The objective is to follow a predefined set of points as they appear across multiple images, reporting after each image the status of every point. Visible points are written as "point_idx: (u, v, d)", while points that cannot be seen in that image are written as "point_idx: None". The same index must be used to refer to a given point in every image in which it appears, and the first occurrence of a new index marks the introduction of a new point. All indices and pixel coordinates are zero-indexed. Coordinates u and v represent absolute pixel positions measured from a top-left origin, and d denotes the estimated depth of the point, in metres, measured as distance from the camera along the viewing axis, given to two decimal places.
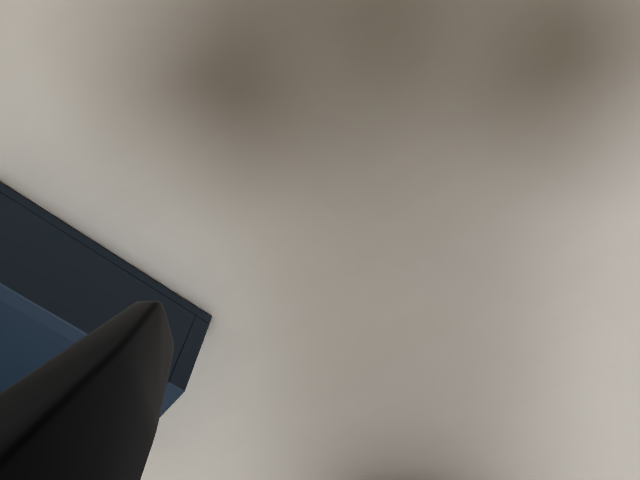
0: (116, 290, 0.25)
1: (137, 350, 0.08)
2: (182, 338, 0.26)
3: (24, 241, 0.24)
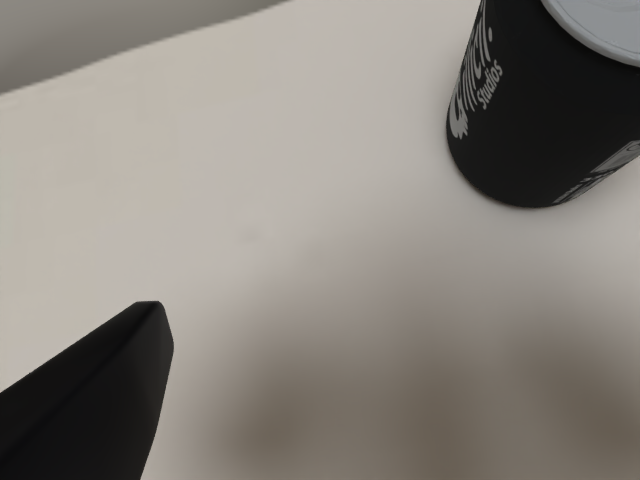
0: None
1: (137, 350, 0.08)
2: None
3: None
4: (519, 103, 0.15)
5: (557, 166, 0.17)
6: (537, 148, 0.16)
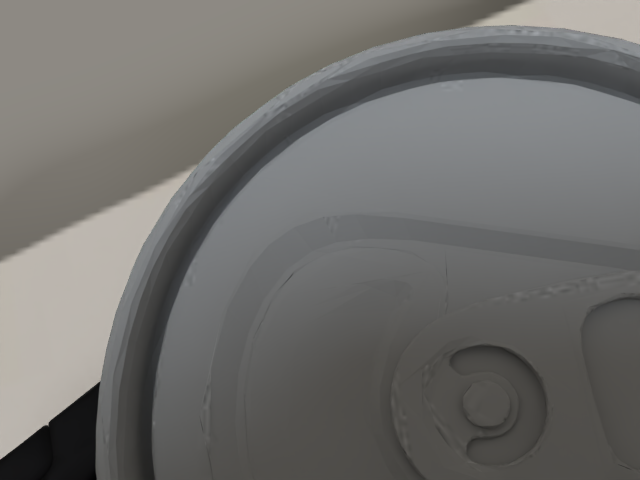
0: None
1: None
2: None
3: None
4: None
5: None
6: None
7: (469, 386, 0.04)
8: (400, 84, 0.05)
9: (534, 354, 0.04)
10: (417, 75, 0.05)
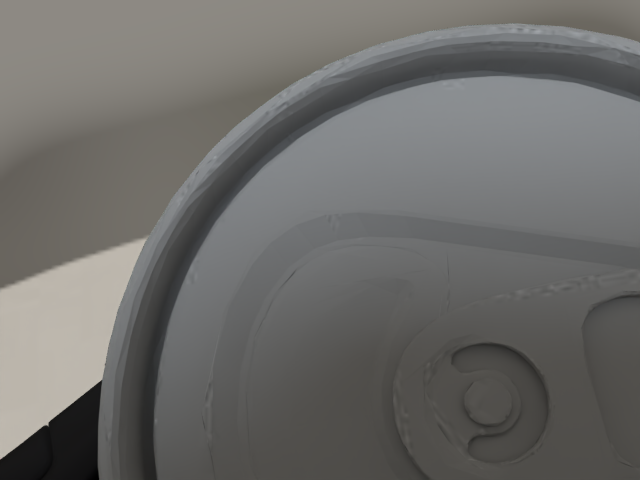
0: None
1: None
2: None
3: None
4: None
5: None
6: None
7: (472, 383, 0.04)
8: (402, 82, 0.05)
9: (536, 351, 0.04)
10: (419, 73, 0.05)
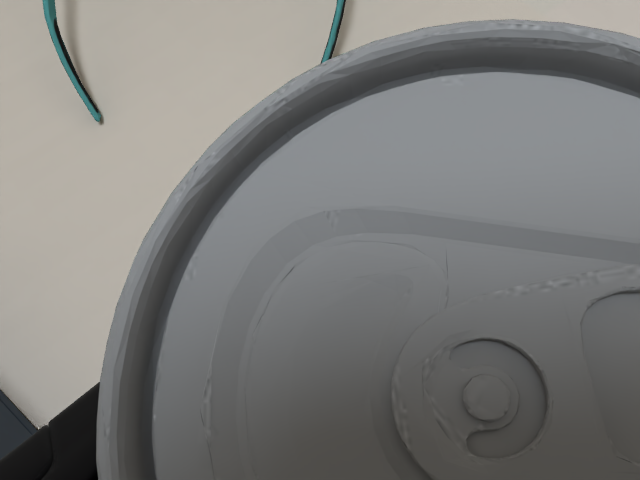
0: None
1: None
2: None
3: None
4: None
5: None
6: None
7: (470, 379, 0.04)
8: (400, 79, 0.05)
9: (534, 348, 0.04)
10: (417, 69, 0.05)
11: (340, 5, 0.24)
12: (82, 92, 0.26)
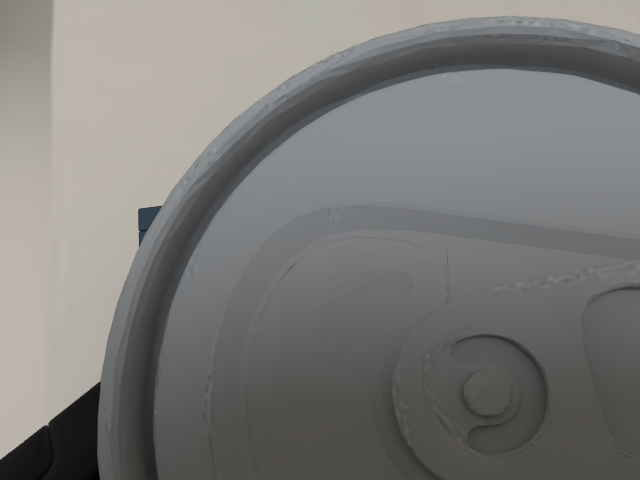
0: None
1: None
2: None
3: None
4: None
5: None
6: None
7: (471, 373, 0.04)
8: (401, 75, 0.05)
9: (534, 342, 0.04)
10: (418, 66, 0.05)
11: None
12: None
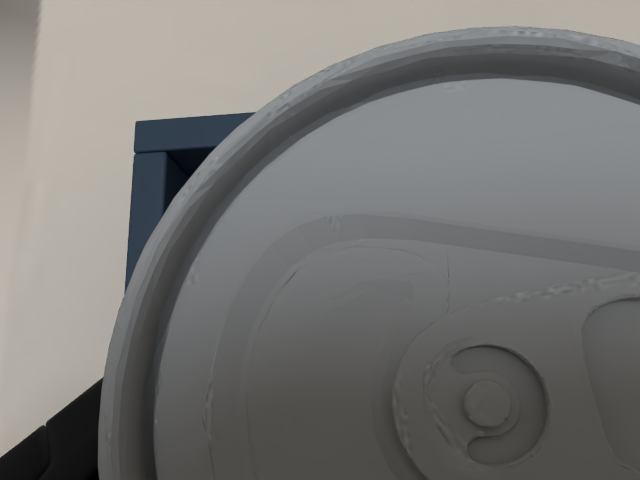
0: None
1: None
2: None
3: None
4: None
5: None
6: None
7: (471, 384, 0.04)
8: (403, 84, 0.05)
9: (534, 353, 0.04)
10: (420, 75, 0.05)
11: None
12: None
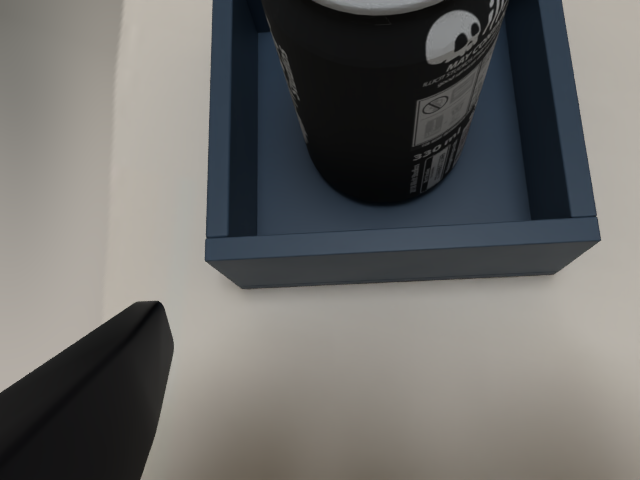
0: None
1: (137, 350, 0.08)
2: None
3: None
4: (309, 80, 0.15)
5: (378, 144, 0.17)
6: (349, 127, 0.17)
7: None
8: None
9: None
10: None
11: None
12: None
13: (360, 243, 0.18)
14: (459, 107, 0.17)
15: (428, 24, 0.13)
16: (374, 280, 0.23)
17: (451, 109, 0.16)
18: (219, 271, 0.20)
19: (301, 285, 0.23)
